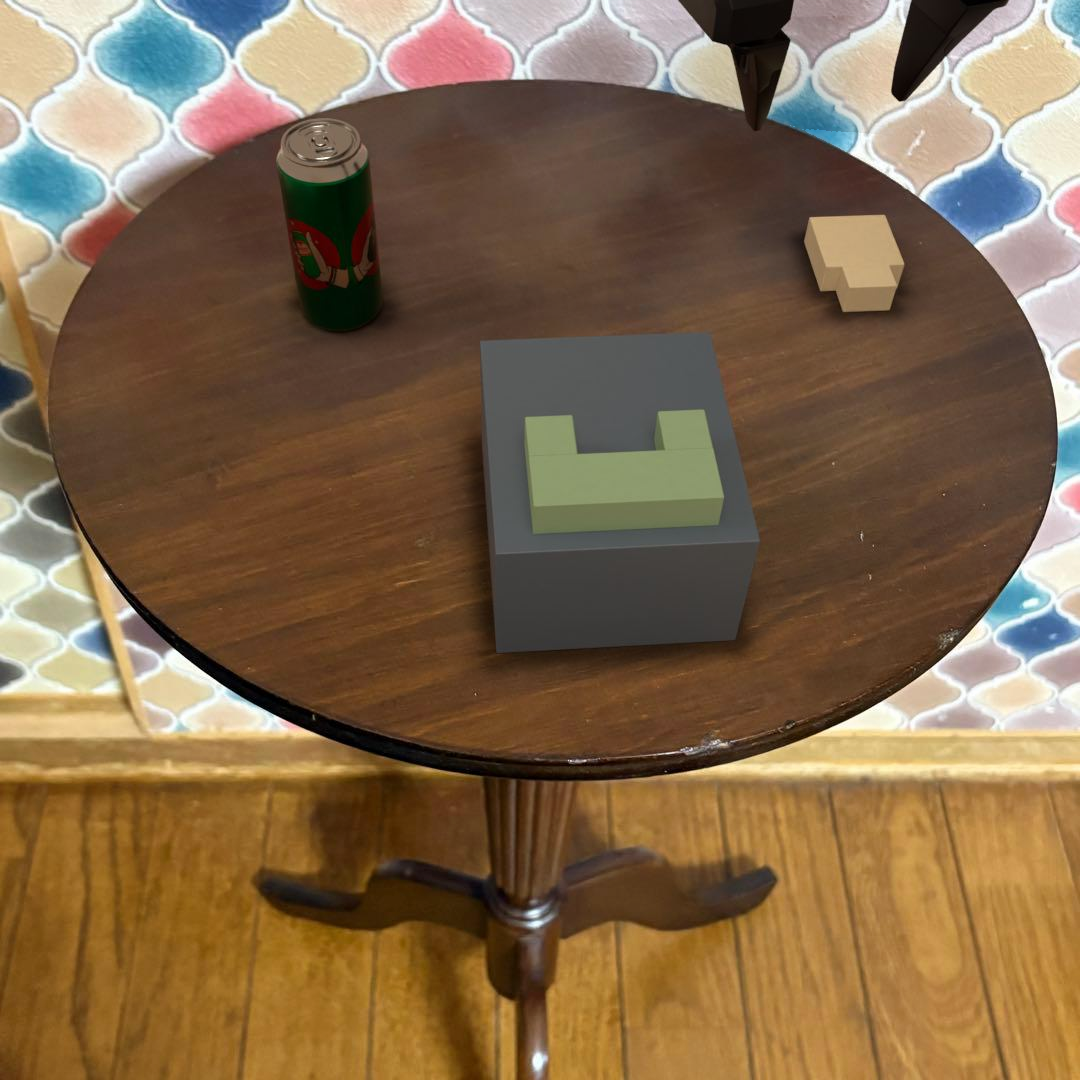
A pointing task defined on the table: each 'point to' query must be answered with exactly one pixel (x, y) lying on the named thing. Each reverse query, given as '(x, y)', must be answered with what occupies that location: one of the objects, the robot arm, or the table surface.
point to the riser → (617, 555)
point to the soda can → (331, 223)
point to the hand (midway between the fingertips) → (826, 112)
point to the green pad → (622, 478)
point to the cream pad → (855, 260)
